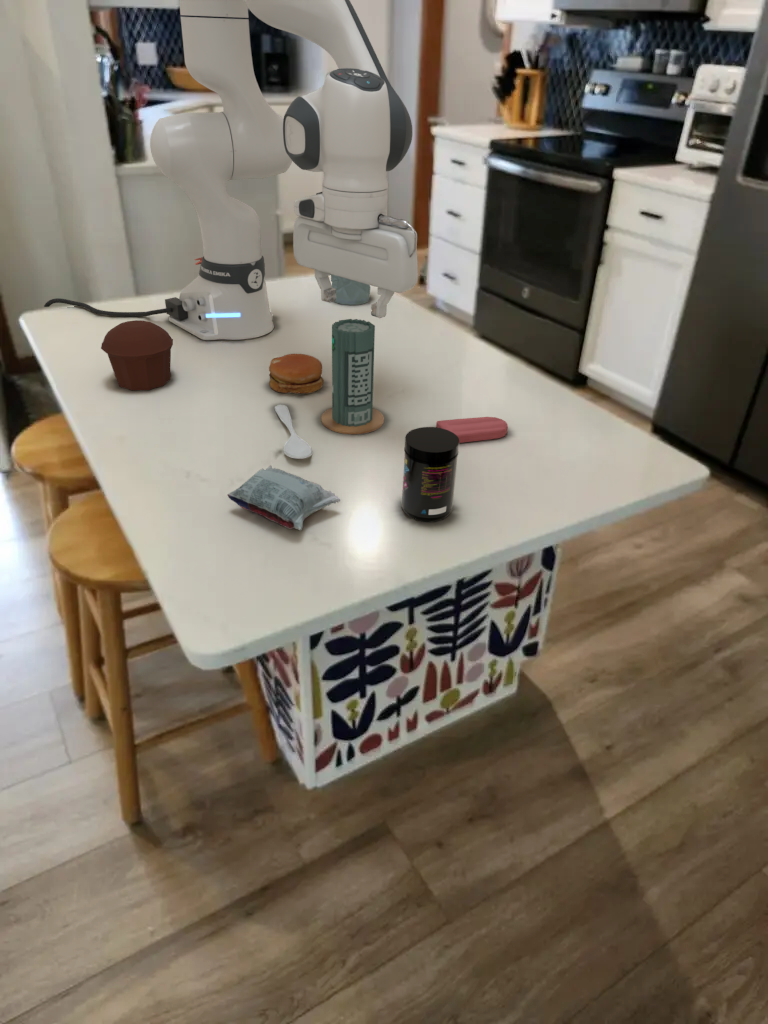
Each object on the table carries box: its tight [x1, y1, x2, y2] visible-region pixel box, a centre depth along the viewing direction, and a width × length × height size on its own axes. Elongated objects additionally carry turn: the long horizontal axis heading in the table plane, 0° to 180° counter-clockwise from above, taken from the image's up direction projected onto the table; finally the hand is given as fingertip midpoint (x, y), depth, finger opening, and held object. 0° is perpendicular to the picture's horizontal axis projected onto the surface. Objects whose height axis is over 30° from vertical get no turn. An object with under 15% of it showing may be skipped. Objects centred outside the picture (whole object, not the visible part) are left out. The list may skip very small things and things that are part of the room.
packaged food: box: [227, 464, 341, 532], centre depth 94 cm, size 9×12×5 cm
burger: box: [268, 353, 324, 395], centre depth 128 cm, size 10×9×5 cm
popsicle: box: [435, 416, 509, 444], centre depth 115 cm, size 5×2×15 cm
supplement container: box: [401, 426, 460, 523], centre depth 94 cm, size 7×7×10 cm
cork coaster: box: [320, 407, 385, 435], centre depth 118 cm, size 10×10×1 cm
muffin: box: [100, 319, 174, 391], centre depth 126 cm, size 12×11×10 cm
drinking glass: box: [330, 274, 371, 306], centre depth 167 cm, size 10×10×12 cm
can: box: [331, 318, 376, 427], centre depth 114 cm, size 6×6×15 cm
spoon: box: [274, 404, 313, 460], centre depth 113 cm, size 4×21×2 cm, turn 16°
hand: (353, 308), depth 109 cm, fingers open, 8 cm apart
